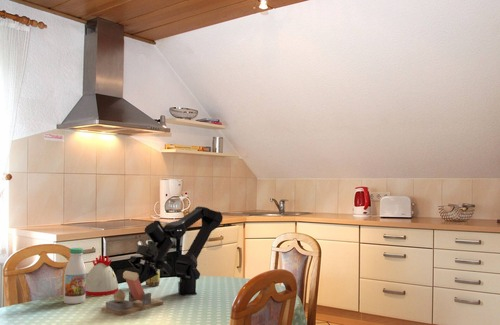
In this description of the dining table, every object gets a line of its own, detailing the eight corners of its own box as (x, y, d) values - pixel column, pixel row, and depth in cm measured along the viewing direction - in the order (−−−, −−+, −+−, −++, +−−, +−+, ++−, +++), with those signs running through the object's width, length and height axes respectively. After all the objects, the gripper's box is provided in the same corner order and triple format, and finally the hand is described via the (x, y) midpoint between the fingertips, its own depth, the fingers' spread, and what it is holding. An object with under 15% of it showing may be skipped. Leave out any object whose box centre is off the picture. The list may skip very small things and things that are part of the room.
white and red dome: (107, 297, 184) (108, 259, 184) (75, 294, 186) (77, 256, 187) (123, 289, 197) (125, 253, 198) (94, 287, 200) (95, 252, 201)
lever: (138, 296, 175) (127, 269, 170) (148, 298, 172) (136, 271, 167) (133, 300, 173) (121, 273, 168) (142, 303, 170) (131, 275, 165)
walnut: (120, 299, 167) (120, 288, 167) (127, 301, 165) (127, 290, 165) (110, 302, 164) (111, 290, 164) (118, 304, 161) (118, 292, 162)
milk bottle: (58, 302, 174) (61, 248, 174) (75, 298, 180) (77, 246, 181) (73, 305, 170) (75, 250, 171) (89, 301, 177) (91, 248, 178)
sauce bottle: (161, 284, 209) (162, 239, 209) (157, 287, 202) (158, 241, 203) (146, 283, 209) (148, 239, 210) (142, 286, 203) (144, 240, 204)
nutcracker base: (144, 300, 180) (145, 287, 181) (162, 304, 175) (163, 291, 175) (101, 311, 164) (102, 296, 164) (120, 316, 158) (120, 301, 159)
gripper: (133, 234, 181) (108, 267, 172) (167, 239, 171) (143, 274, 161) (147, 252, 187) (125, 285, 178) (181, 258, 177) (159, 292, 167)
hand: (137, 284), depth 171 cm, fingers closed, pressing on lever
